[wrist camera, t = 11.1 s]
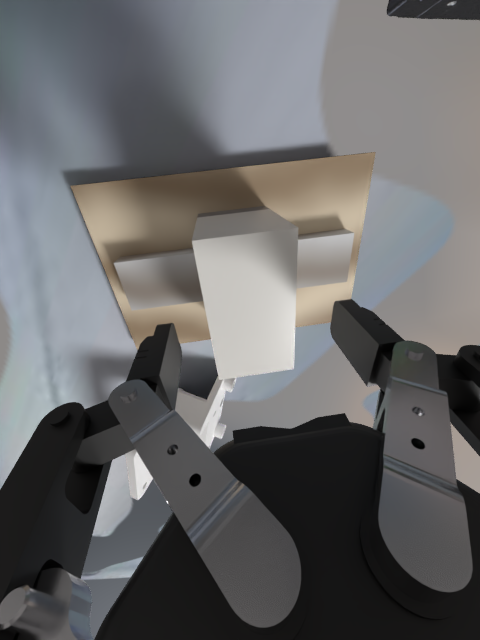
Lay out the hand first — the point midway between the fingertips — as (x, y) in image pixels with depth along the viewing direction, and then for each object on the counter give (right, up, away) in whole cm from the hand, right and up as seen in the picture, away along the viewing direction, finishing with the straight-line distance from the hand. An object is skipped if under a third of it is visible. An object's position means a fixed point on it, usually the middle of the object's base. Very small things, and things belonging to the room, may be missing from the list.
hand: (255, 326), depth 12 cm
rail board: (-1, +5, +9) cm, 11 cm away
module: (-1, +5, +8) cm, 10 cm away
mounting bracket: (-7, -9, +18) cm, 21 cm away
